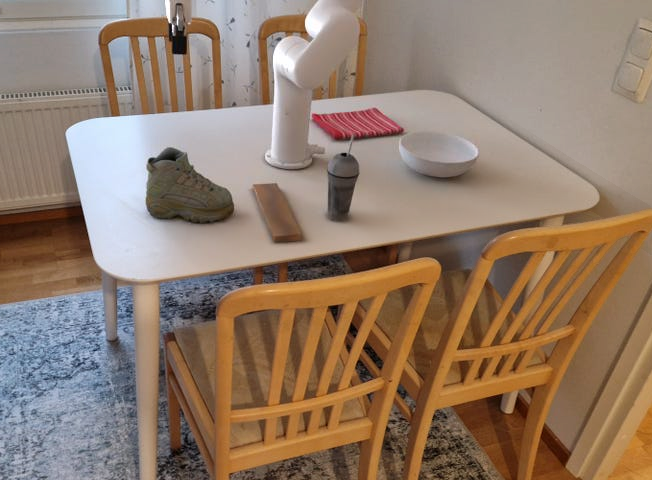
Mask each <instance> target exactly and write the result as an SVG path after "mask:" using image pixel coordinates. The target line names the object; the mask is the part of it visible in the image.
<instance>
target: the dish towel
mask: <svg viewBox="0 0 652 480" xmlns="http://www.w3.org/2000/svg"><path fill="white" fill-rule="evenodd" d="M311 118H312V119H311V121H312V122H313V123H315V125H317V126H318V127H319V128H320V129H322V130H323V131H324V132H325V133H326V134H327V135H328V136H329V137H330V138H331V139H332V140H334V141H338V140H348V139H350V140H351V137H352V135H354V139H360V138H368V137H377V136H378V137H379V136H388V135H394V134H398V133H399V134H400V133H403V132H404V131H405V129H404V127H402V126H400V125H399V124H398V123H396V122H395V121H393V120H392V119H391V118H390V117H388V116H386V115H385V114H384V113H382V112H381V111H380V110H379V109H378V108H377V107H372V108H368V109H362V110H353V111H341V112H331V113H312V114H311Z"/></svg>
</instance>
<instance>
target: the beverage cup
mask: <svg viewBox="0 0 652 480" xmlns="http://www.w3.org/2000/svg"><path fill="white" fill-rule="evenodd" d="M354 139H355V138H354V135H352V137H351V139H350V142H349V145H348V149H347V152H339V153H336V154H335V155H334V156H332V157H331V159H330V160H329V162H328V164H327V167H326V172H327V173H326V175H327V217H328V219H329V220H331V221H333V222H345V221H346V220H348V217H349V213H350V210H351V209H350V208H351V204H352V201H353V196H354V192H355V187H356V183H358V182H357V181H358V179H359V176H360V165H359V162H358V160H357V158H356V157H355V156H354V155H352V154H351V150H352V147H353V142H354Z"/></svg>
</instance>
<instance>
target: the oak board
mask: <svg viewBox="0 0 652 480" xmlns="http://www.w3.org/2000/svg"><path fill="white" fill-rule="evenodd" d="M252 193H253V195H254V197H255V200H256V202H257V205H258V207H259V210H260V212H261V214H262V216H263V218H264V221H265V224H266V226H267V228H268V231H269V233H270V235H271V238H272V240H273V242H274V243H275V244H276V243H288V242H301V241H302V240H303V239H302V238H303V233H302V232H301V230H300V227H299V225H298V224H297V223H298V222H297V221H296V219H295V217H294V215H293V213H292V211H291V209H290V206H289V205H288V203H287V202H286V199H285V197H284V195H283V193H282V191H281V189H280V186H279V185H278V183H277V182H272V183H253V184H252Z"/></svg>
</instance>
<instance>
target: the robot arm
mask: <svg viewBox="0 0 652 480" xmlns="http://www.w3.org/2000/svg"><path fill="white" fill-rule="evenodd" d="M364 1H365V0H317V1H316V2H315V4H314V5H313V7H312V8H311V9H310V10H309V12H308V13H307V15H306V17H305V19H304V20H305V21H304V25H305V26H304V28H305V30H306V33H307V34H308V35H309V36H310V37H311V38H312V39H311V41H308V40H306V38H302V37H301V36H297V35H289V36H286V37H284V38H282V39H281V40H280V41H279V42H278V43H277V44H276V46H275V48H274V51H273V55H272V56H273V57H272V67H273V79H274V81H273V82H274V92H273V108H272V109H273V110H272V129H271V147H270V148H269V149H268V150H267V151H265V154H264V159H265V161H266V162H267V164H269V165H271V166H273V167H276V168H279V169H284V170H299V169H304V168H307V167H309V166H310V165H311V164H312V162H313V156H314V155H324V154H325V152H326V147H325V146H318V145H319V144H318V143H311V144H310V143H309V135H310V134H309V132H310V120H311V110H312V101H313V91H314V90H316V89H318V88H321V86H323V85H324V84H325V83H326V82H328V80H329V79H330V78H331V77H332V75H333V74H334V73H335V72H336V71H337V69H338V68H339V67H341V65H342V63H343V62H344V61H345V60H346V59H347V57H348V56H349V55H350V53H352V51H353V50H354V48H355V47H356V45H357V43H358V40H359V38H360V35H361V25H360V21H359V19H358V17H357V16H356V15H355V14H356V12H357V11H358V9H359V8H360V6H362V4H363V2H364ZM165 9H166V16H167V19H168V23H167V25H168V26H167V27H168V29H167V30H168V31H167V32H168V33H167V34H168V42H170V43H171V54H172V55H178V56H179V55H184V56H187V54H188V35H187V24H188V26H189V25H192V23H193V14H192V13H193V11H192V0H165Z"/></svg>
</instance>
